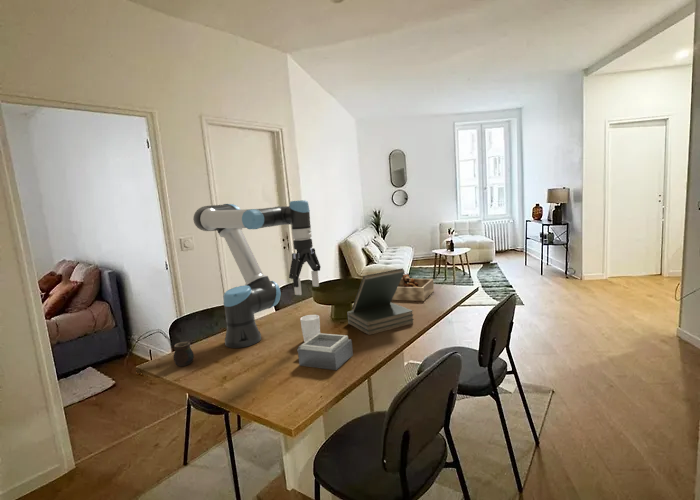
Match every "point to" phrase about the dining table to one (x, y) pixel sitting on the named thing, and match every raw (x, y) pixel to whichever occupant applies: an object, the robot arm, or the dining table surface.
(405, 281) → the bear figurine
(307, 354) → the grey open box
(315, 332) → the white cup
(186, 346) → the mate gourd
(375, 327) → the book stack
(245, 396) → the dining table surface
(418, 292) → the bear crate
